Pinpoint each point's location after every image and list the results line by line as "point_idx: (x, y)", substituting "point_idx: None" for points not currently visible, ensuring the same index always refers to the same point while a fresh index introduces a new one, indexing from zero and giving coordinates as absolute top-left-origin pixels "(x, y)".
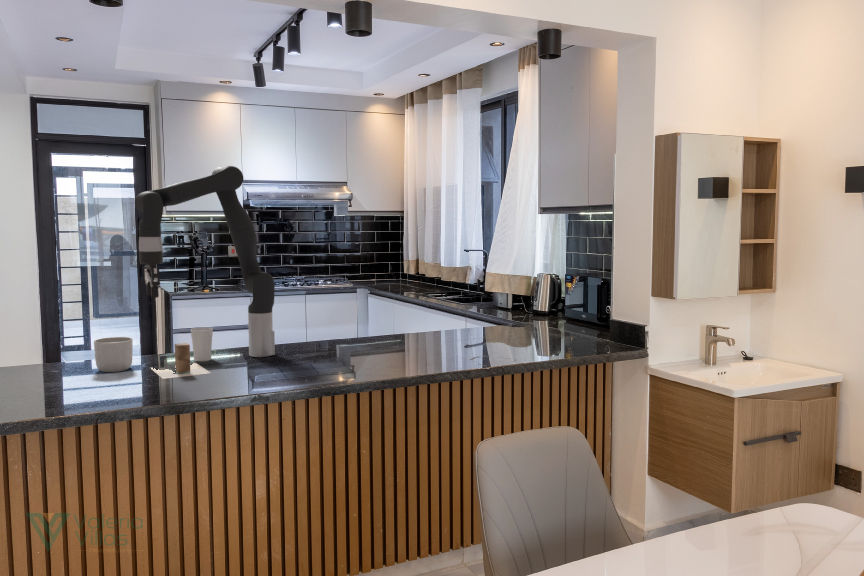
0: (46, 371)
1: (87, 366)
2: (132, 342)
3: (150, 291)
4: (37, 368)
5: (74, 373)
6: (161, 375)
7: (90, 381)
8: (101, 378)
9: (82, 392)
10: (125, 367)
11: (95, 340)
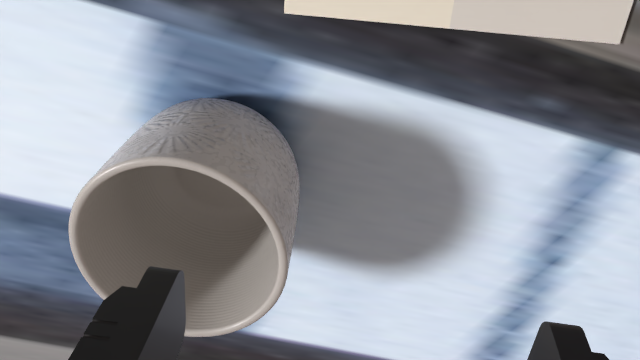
0: None
1: None
2: (208, 154)
3: (165, 344)
4: (39, 356)
5: None
6: (532, 24)
7: (404, 288)
8: (375, 246)
9: None
10: (287, 143)
11: None
